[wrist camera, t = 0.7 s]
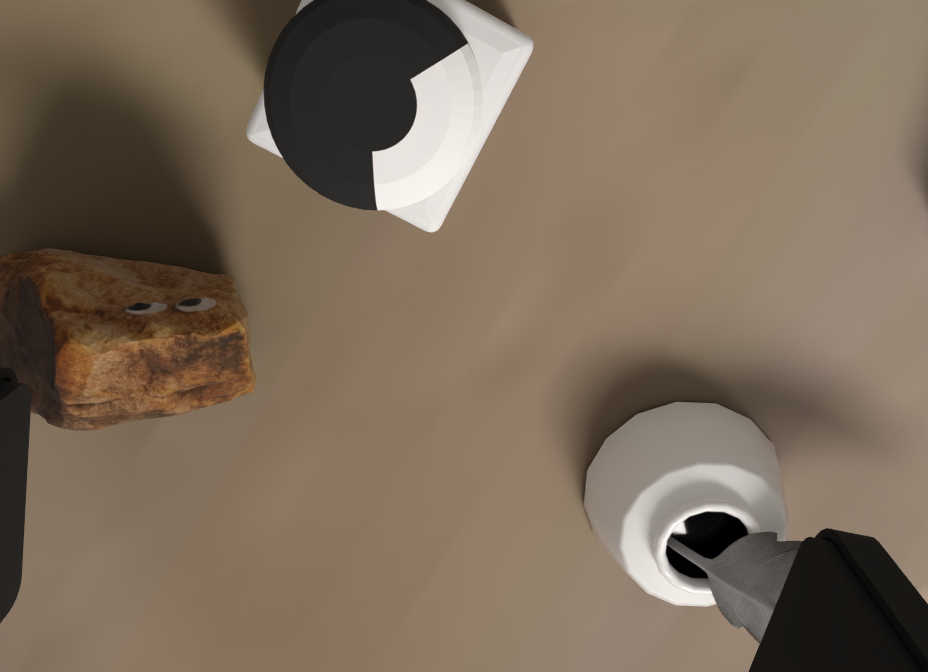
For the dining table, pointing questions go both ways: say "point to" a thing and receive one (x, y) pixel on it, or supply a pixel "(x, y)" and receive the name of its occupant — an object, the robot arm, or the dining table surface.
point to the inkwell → (695, 510)
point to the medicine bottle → (387, 100)
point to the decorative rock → (120, 337)
